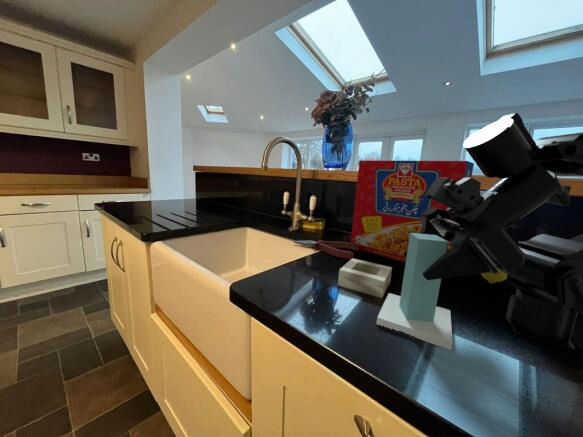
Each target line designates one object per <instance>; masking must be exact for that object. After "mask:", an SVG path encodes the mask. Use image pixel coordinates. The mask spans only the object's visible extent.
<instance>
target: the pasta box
mask: <svg viewBox="0 0 583 437" xmlns="http://www.w3.org/2000/svg"><path fill="white" fill-rule="evenodd" d="M474 165H475V162H471V161H469V160H366V159H365V160H363V159H362V160H359V162H358V170H357V171H358V172H357V181H356V188H355V189H356V190H355V198H354V199H355V200H354V208H353V217H352V227H351V237H350V243H353V244H357V245H358V246H359V251H360V250H361V251H363V250H364V251H363V252H367V253H370V254H375V255H377V254H378V256H382V257H384V258H388V259H390V260H391V259H392V260H395V261H398V262H402V263H404V264H406V257H405V256H404V252H405V251H406V250H407V248H408V244H409V237H410V233H418V234H419V232H420V231H421V229H422V220H421V217H422V214H421V213H422V212H424V211H425V210H426V209H428V208H429V207H437V208H440V209H444V210H446V209H447V208H449V207H447V206H445V205H444V204H442V203H440V202H438V201H436V200H434V199H430V198H428V197H426V196H425V194H426V193H427V191H428V190H429V188H430V187H431V185H432V184H433V182H434V181H435V179H436V178H448V179H454V180H456V182H458V181H460V180H461V179H463V178H473V177H472V176H473V172H474ZM447 213H448V212H447ZM448 214H449V213H448ZM449 215H450V214H449ZM450 216H451V215H450ZM451 217H452V216H451ZM452 218H453V217H452ZM446 241H447V240H446ZM448 243H449V245H447V249H446V252H447V251H448V250H450V249H451V248H452V246H453V243H454V240H453V241H448Z"/></svg>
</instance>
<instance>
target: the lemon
mask: <svg viewBox="0 0 583 437" xmlns="http://www.w3.org/2000/svg"><path fill="white" fill-rule="evenodd" d="M496 269H497V268H496ZM497 270H498V273H496V274H493V273H480V275H481V276H482V277H483V279H485V280H487V281H488V283H490V284H495V283H501V282H503V281H505V280H507V274H506V273H504V272H502V271H501V270H499V269H497Z"/></svg>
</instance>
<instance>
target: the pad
mask: <svg viewBox="0 0 583 437" xmlns="http://www.w3.org/2000/svg"><path fill="white" fill-rule="evenodd" d="M400 297H401V295H397V294H394V293H390V292H388V294H387V296H386V297H385V301H384V302H383V304H382V306H381V309H380V311H379V313H378V315H377V318H376V325H377V326H380V325H381V327H383V326H384V327H383V328H386V327H387V329H389V328H390V329H389V330H392V329H394V330H396V331H395V332H397V331H401V332H404V333H406V334H409V335H411V336H410V337H412V336H414V337H413V338H415V337H416V338H415V339H417V338H418V340H420V339H421V341H424V342H426V343H430V344H432V345H436V346H439V347H440V348H443V349H446V350H449V351H451V350H452V348H453V344H454V342H453V340H454V339H453V332H452V331H453V328H452V319H451V318H452V316H451V309H447V308H445V307H440V306H437V305H436V310H435V316H434V321H433V322H427V321H419V320H412V319H406V317H405V316H404V314H403V312H402V310H401V308H400V306H399V304H400ZM394 330H393V331H394ZM406 334H405V335H406ZM409 335H408V336H409Z"/></svg>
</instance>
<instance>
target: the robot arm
mask: <svg viewBox="0 0 583 437" xmlns="http://www.w3.org/2000/svg"><path fill="white" fill-rule="evenodd" d="M463 147H464V149H465V150H466V152H467V153H468V154H469V156H470V157H471V159H472V160H473V161H474V164H475V165H476V166H477V167H478V169H479V170H480V171H481V172H482V174H483V176H484V177H486V178H496V179H499V180H498V181H497V182H495V183H494V184H493V185H492V186H490V187H488V188H487V189H485V190H481V184H482V183H481V181H478V180H477V179H475V178H473V177H471V178H463V179H461V180H460V181H458V182H456V180H454V179H448V178H436V179H435V181H434V182H433V184H432V185H431V187H430V188H429V190H428V191H427V193H426V194H425V196H426V197H428V198H430V199H434V200H436V201H438V202H440V203H442V204H444V205H445V206H447V207H449V208H447V209H446V210H444V209H440V208H437V207H429V208H428V209H426V210H425V211H424V212H422V213H421V214H422V217H421V220H422V229H421V231H420V232H419V234H429V235H437V236H439V237H441V238H442V239H444V240H447V241H453V240H454V243H453V246H452V248H451V249H450V250H448V251H447V252H446V253H445V254H444V255H443V256H441V257H440V258H439V259H438V260H437V261H435V262H434V263H433V264H432V265H431V266H430V267H429V268H428V269H426V270H425V271H424V272H423V274H422V275H423V276H424V277H425V278H426V280H433V279H440V278H441V279H445V278H453V277H459V276H465V275H466V276H467V275H477V274H481V273H493V274H496V273H498V270H497V269H499V270H501V271H502V272H504V273H506V274H507V278H506V280H507V284H508V285H511V286H514V287H516V291H515V295H514V294H511V295H510V297H509V302H508V306H507V310H506V315H505V317H506V319H507V321H508V323H509V324H510V325H511V328H512V330H513V331H514V333H515V334H516V335H518V336H521V337H525V338H528V339H531V340H536V341H539V342H542V343H545V344H549V345H553V346H556V347H559V348H563V349H566V350H569V351H575V349H576V348H575V345H574V344H573V342H572V341H570V340H571V337H572V334H573V330H574V327H575V324H576V320H577V316H578V313H579V314H582V315H583V233H582V234H579V235H577V236H574V237H571V238H569V239H567V238H562V237H558V236H555V235H551V234H550V235H549V234H546V233H542V234H538V235H536V236H534V237H532V238H530V239H528V240H524V241H517V243H516V242H515V240H514V239H513V238H512V237H511V236H510V235H509V233H508V232H507V231H506V229H507V228H509V227H510V228H513V229H517V230H518V229H520V228H521V227H523V226H524V225H525V223H524V222H523V220H522V218H525V216H527V215H528V214H530V213H531V212H533V211H535V210H536V209H537V208H539V207H540V206H542V205H544V203H548V204H549V203H550V204H552V205H556V206H557V205H558V206H561V207H562V206H563V207H567V206H569V205H570V201H571V196H570V192H571V189H572V186H571V185H565V184H562V183H561V181H560V180H559V178H558V177H583V131H582V132H576V133H568V134H567V133H566V134H560V135H553V136H544V137H541V138H538V139H537V140H536V141H535V140H534V138H533V137H532V135H531V133H530V132H529V131H528V129H527V127H526V126H525V123H524V121H523V119H522V117H521V116H520V114H519V113H518V112H515V113H511V114H506V115H503V116H501V118H499V119H498V120H497V121H495V122H492V123H491V124H488V125H486V126H484V127H483V128H482V129H480V130H478V131H476V132H475V131H474V132H472V134H471V135H469V137H468V136H467V138H466V139H465V140H464V142H463ZM447 212H448V213H449V214H450V215H451V216H452V217H453V218H452V217H451V216H450V215H449V214H448V213H447ZM447 245H449V243H447ZM407 251H408V248H407V250H406V251H405V252H404V256H405V257H407ZM496 268H497V269H496Z"/></svg>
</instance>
